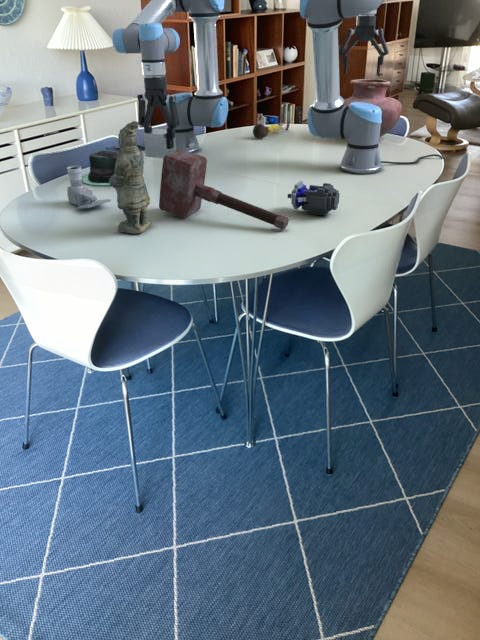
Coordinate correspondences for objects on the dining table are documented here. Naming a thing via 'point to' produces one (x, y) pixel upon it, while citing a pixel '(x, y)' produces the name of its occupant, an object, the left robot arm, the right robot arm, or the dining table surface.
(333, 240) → the dining table surface
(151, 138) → the metal block
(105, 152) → the green top hat
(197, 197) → the sledgehammer
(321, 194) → the toy
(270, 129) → the figurine
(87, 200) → the grey piece
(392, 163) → the right robot arm
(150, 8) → the left robot arm
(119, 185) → the statue
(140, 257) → the dining table surface
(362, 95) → the clay pot
